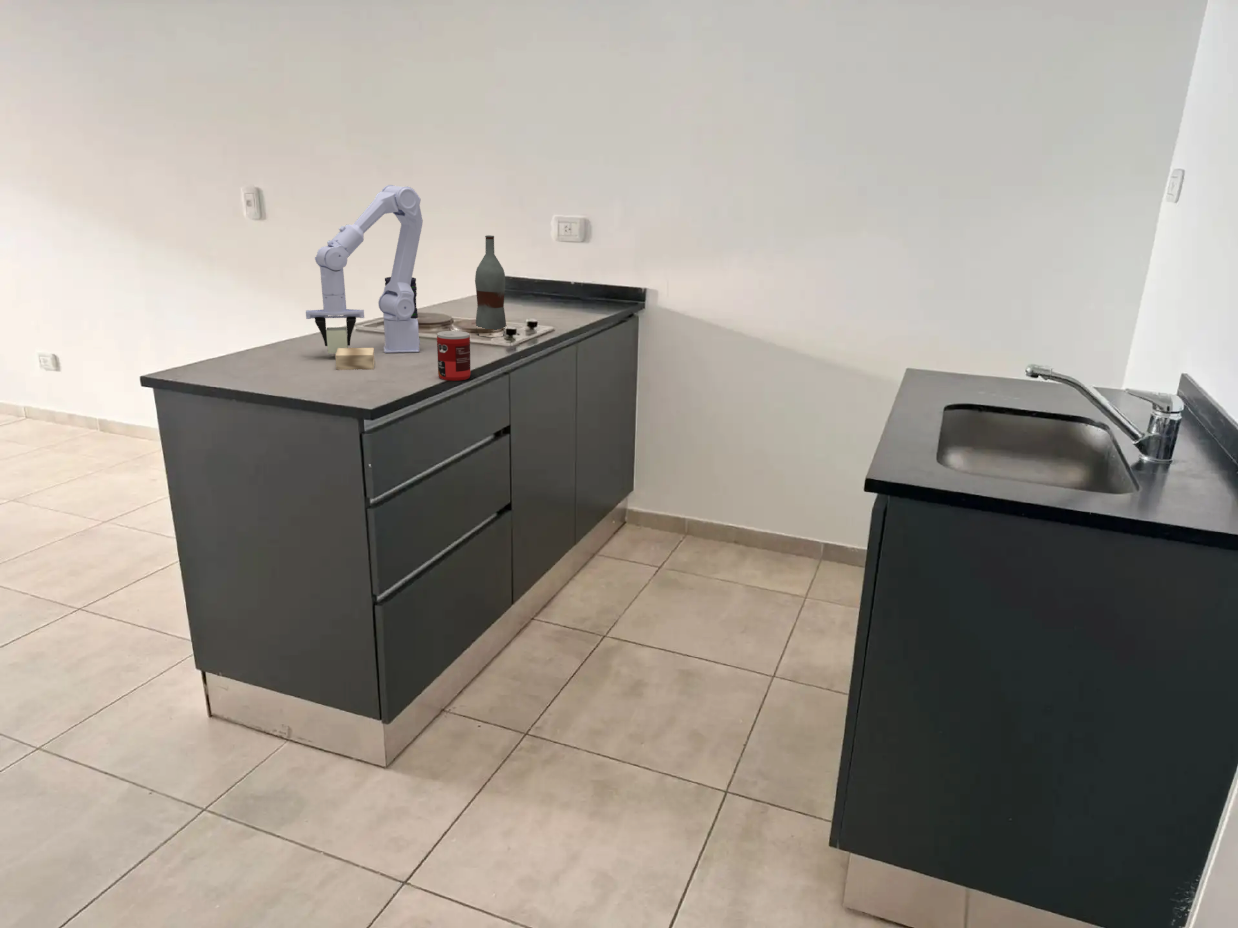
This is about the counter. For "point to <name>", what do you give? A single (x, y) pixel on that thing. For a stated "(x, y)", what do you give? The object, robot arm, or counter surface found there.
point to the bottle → (490, 290)
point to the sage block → (336, 338)
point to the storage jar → (414, 288)
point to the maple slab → (354, 358)
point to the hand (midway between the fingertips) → (337, 345)
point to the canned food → (453, 355)
